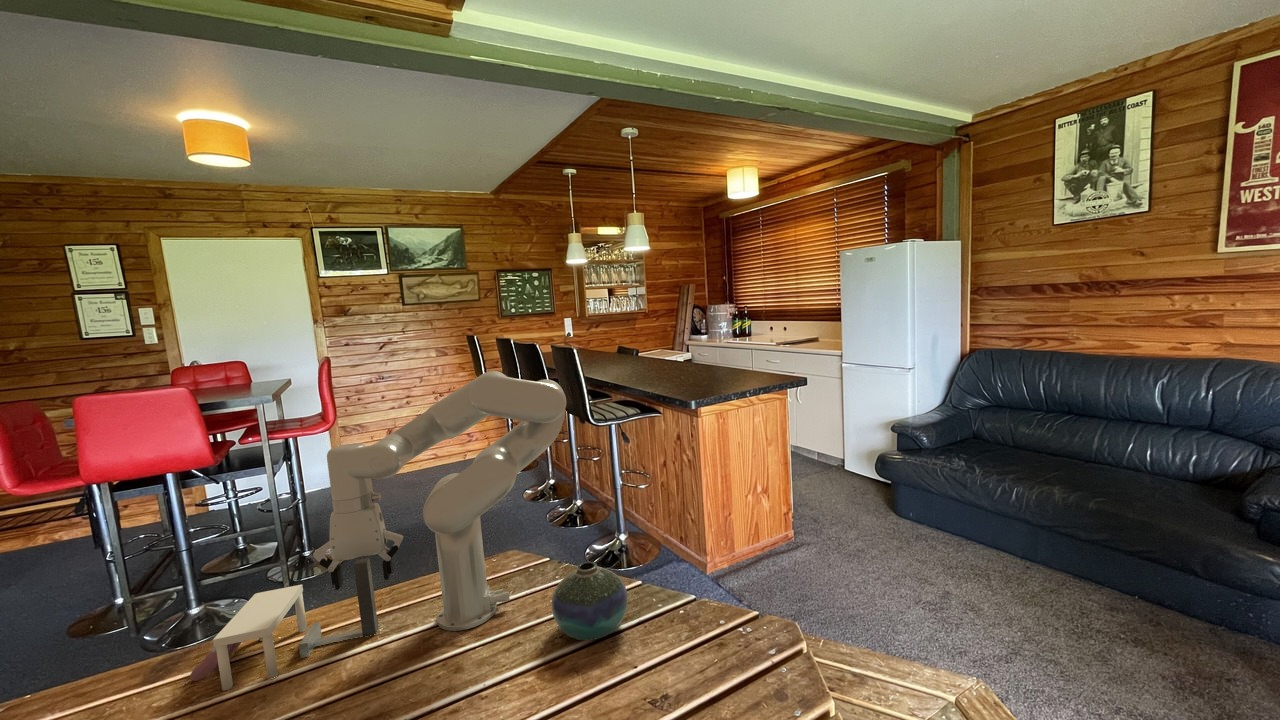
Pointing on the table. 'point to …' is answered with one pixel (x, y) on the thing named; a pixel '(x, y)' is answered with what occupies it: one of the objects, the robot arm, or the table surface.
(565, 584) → the vase
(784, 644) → the table surface
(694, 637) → the table surface
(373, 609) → the scraper
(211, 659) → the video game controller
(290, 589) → the low stool
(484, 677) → the table surface
